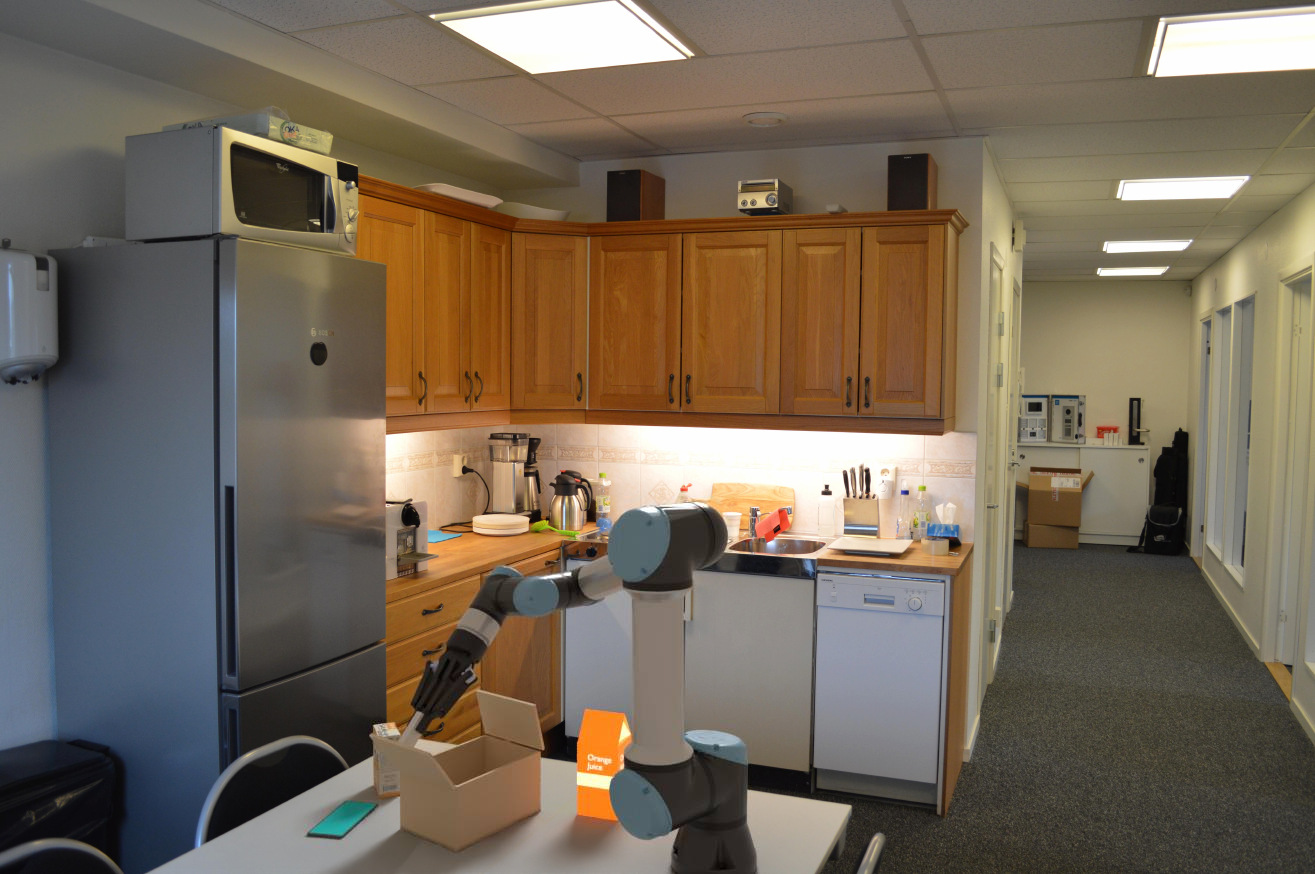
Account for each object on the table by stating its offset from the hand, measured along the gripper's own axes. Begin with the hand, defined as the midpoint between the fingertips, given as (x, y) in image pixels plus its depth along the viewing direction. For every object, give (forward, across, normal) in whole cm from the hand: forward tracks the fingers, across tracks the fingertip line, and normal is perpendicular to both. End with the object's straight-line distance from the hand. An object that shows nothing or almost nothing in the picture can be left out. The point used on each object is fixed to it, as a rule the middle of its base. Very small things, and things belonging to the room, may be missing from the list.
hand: (404, 747), depth 169 cm
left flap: (+1, 0, -3) cm, 3 cm away
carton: (+2, 0, -25) cm, 25 cm away
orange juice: (-11, -18, -38) cm, 44 cm away
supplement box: (+3, +25, -24) cm, 35 cm away
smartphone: (+14, +20, -14) cm, 28 cm away
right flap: (-17, 0, -20) cm, 26 cm away
